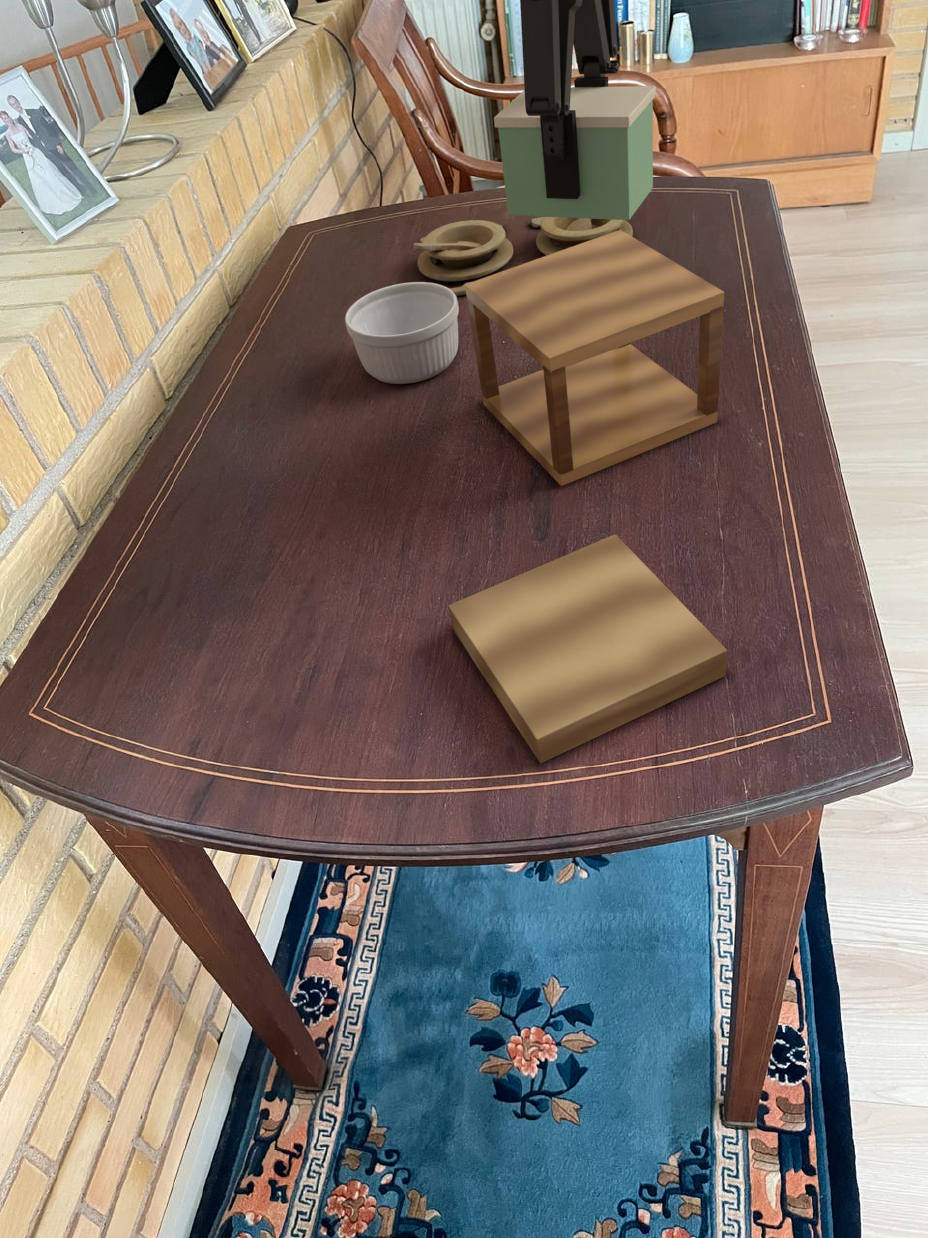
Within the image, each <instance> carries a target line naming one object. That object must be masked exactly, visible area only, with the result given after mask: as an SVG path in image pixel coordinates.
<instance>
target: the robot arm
mask: <svg viewBox="0 0 928 1238" xmlns="http://www.w3.org/2000/svg"><path fill="white" fill-rule="evenodd" d="M519 6H520V25H521V28H520V29H521V47H522V68H523V87H524V88H523V89H524V90H525V109H526V113H527V115H528V116H540V124H541V136H542V148H543V160H544V172H545V184H546V196H547V198H554V199H578V198H579V196H580V180H579V163H578V145H577V128H576V110H570V97H571V88H572V78H573V77H572V75H573V58H574V57H573V56H574V55H575V61H576V65H577V71H578V73H579V75H583V77H582V76H580V77H579V76H578V77H576V78H575V79H573V86H574V87H609V76H606V75H612V74H613V75H614V74H618V72H619V70H620V59H616V57H617V55H618V49H619V48H618V39H617V37H618V36H617V22H616V7H615V6H616V5H615V0H519ZM524 90H523V91H524Z"/></svg>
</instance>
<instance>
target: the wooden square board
mask: <svg viewBox="0 0 928 1238" xmlns="http://www.w3.org/2000/svg"><path fill="white" fill-rule="evenodd" d="M447 608H448V612H449V617H450V621H451V626H452V630H453V631H454V634H455V635H456V636H457V638H458V639H459V641H460V643H461V644H462V646H463V648H464V649H465V650H466V652H467V653H468V655H469V656H470V658H471V659H472V661H473V662H474V664H475V665H476V667H477V669H478V670H479V672H480V673H481V674H482V676H483V677H484V679H485V681H486V683H487V684H488V686H489V687H490V689H491V690H492V692H493V693H494V694H495V697H496V698H497V699H498V701H499V702H500V704H501V705H502V707H503V708H504V710H505V712H506V713H507V715H508V716H509V717H510V719H511V721H512V722H513V724H514V725H515V727H516V728H517V730H518V732H519V733H520V735H521V736H522V737H523V739H524V740H525V742H526V744H527V745H528V747H529V748H530V750H531V752H532V753H533V754H534V756H535V757H536V759H537V761H538V762H539V763H540V764H543V763H546V762H548V761H549V760H551V759H553V758H555V757H558V756H560V755H562V754H565V753H566V752H568V751H570V750H573V749H575V748H577V747H579V746H581V745H583V744H585V743H587V742H589V741H591V740H593V739H596V738H598V737H601V736H602V735H604V734H606V733H608V732H611V731H612V730H615V729H617V728H619V727H622V726H623V725H626V724H627V723H629V722H632V721H633V720H636V719H638V718H640V717H642V716H644V715H646V714H648V713H651V712H652V711H655V710H657V709H659V708H662V707H663V706H665V705H668V704H669V703H672V702H674V701H676V700H678V699H680V698H682V697H684V696H686V695H689V694H691V693H693V692H695V691H698V690H699V689H701V688H703V687H705V686H708V685H709V684H711V683H713V682H716V681H718V680H720V679H722V678H725V677H726V671H727V670H726V669H727V658H728V657H727V656H728V650H727V649H726V648H725V646H724V645H723V644H722V643H721V642H719V640H718V639H717V638H716V637H715V636H714V635H713V634H712V633H711V632H710V631H709V630H708V629H707V628H706V626H704V624H703V623H702V622H701V621H700V620H699V619H697V617H696V616H695V615H694V614H693V613H692V612H691V611H690V610H689V609H688V608H687V607H686V606H685V605H684V604H683V603H682V602H681V601H680V600H679V599H678V598H677V596H676V595H675V594H674V593H673V592H672V591H671V590H670V589H669V588H668V587H667V586H666V585H665V584H664V583H663V582H662V580H660V579H659V578H658V577H657V576H656V575H655V573H654V572H653V571H652V570H651V569H650V568H649V567H648V566H647V565H646V564H645V563H644V562H643V561H642V560H641V559H640V558H639V557H638V556H637V555H636V554H635V552H633V551H632V549H630V548H629V546H628V545H626V543H625V542H624V541H623V540H622V539H621V538H620V537H619V536H618V535H617V534H616V533H614V534H612V535H610V536H607V537H605V538H602V539H600V540H598V541H596V542H593V543H590V544H589V545H586V546H584V547H582V548H579V549H577V550H574V551H572V552H569V553H568V554H565V555H563V556H561V557H558V558H556V559H553V560H551V561H549V562H547V563H543V564H542V565H540V566H537V567H535V568H532V569H530V570H528V571H524V572H523V573H521V574H518V575H516V576H514V577H511V578H509V579H507V580H504V581H502V582H499V583H498V584H495V585H492V586H491V587H488V588H485V589H483V590H481V591H478V592H476V593H474V594H471V595H468V596H466V597H465V598H462V599H459V600H458V601H455V602H453V603H450V604H449V605H447Z"/></svg>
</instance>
